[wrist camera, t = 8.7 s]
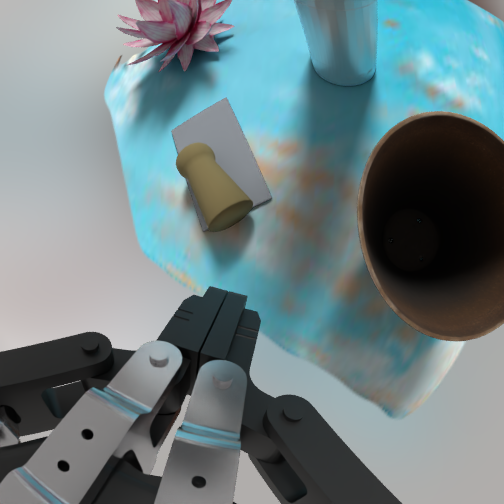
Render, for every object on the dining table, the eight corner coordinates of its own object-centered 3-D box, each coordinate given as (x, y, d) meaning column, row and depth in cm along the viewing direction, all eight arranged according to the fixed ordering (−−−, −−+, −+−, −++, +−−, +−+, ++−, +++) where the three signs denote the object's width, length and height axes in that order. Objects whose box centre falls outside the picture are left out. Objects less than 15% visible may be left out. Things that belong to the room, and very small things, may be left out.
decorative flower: (132, 90, 43) (80, 56, 29) (174, 18, 41) (138, -19, 27) (223, 85, 36) (170, 26, 22) (262, 6, 34) (232, -49, 20)
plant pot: (428, 158, 27) (475, 88, 11) (480, 267, 24) (560, 271, 9) (328, 210, 31) (312, 164, 16) (381, 325, 28) (411, 382, 13)
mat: (172, 131, 39) (171, 130, 38) (227, 98, 36) (226, 97, 35) (204, 231, 36) (203, 230, 36) (272, 198, 33) (271, 197, 33)
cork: (262, 197, 32) (217, 136, 34) (225, 202, 27) (181, 134, 30) (235, 227, 36) (197, 167, 38) (199, 235, 31) (162, 169, 34)
